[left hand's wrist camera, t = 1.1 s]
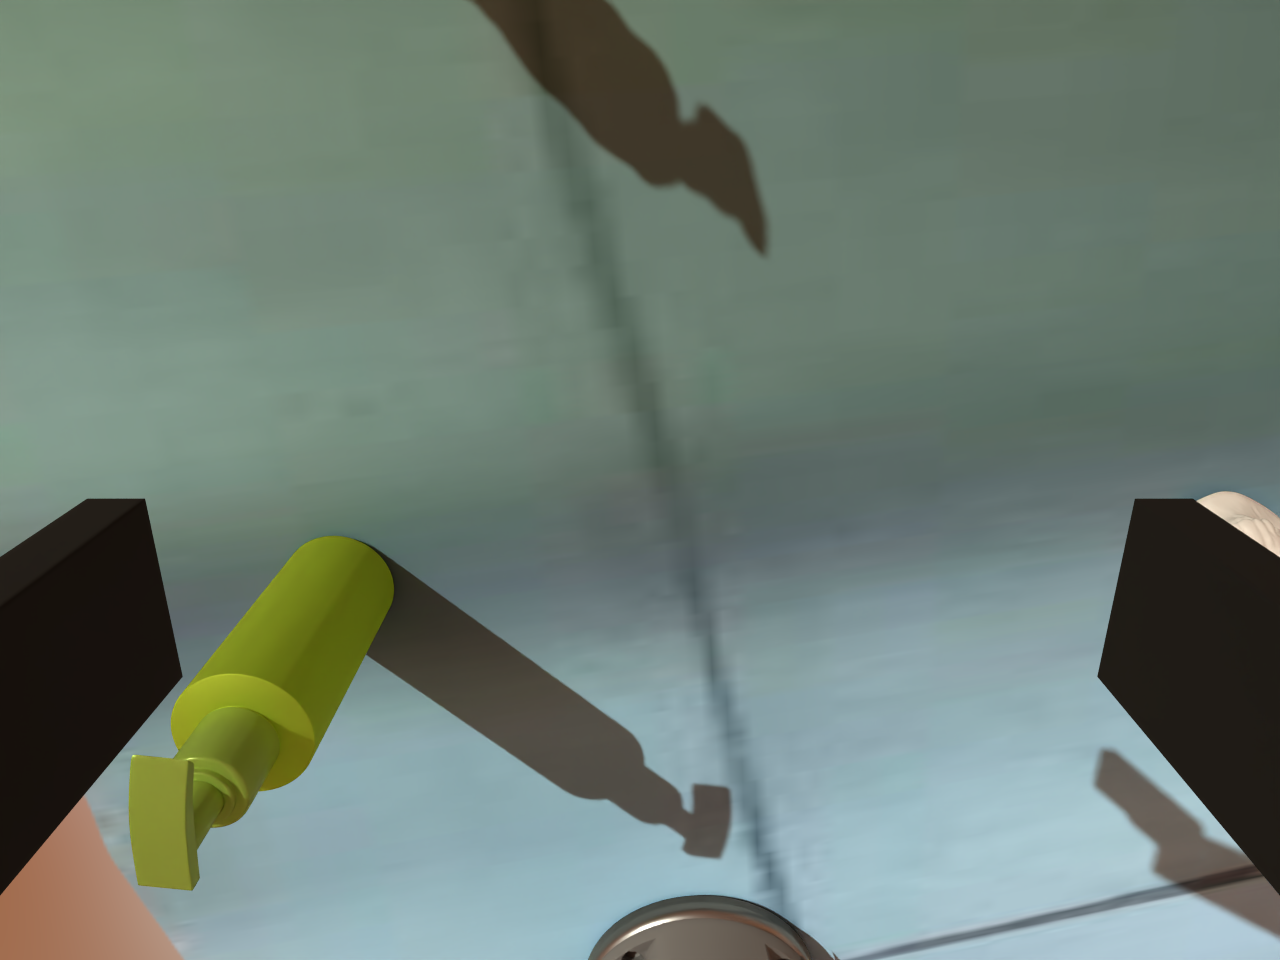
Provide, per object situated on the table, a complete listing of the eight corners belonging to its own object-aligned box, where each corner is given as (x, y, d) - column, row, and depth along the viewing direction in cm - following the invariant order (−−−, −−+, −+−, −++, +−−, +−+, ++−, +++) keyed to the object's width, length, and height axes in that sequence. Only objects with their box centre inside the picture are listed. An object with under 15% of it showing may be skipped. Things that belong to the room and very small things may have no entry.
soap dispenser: (396, 524, 48) (243, 777, 30) (392, 636, 51) (249, 934, 32) (284, 511, 48) (60, 758, 30) (286, 624, 51) (80, 918, 32)
